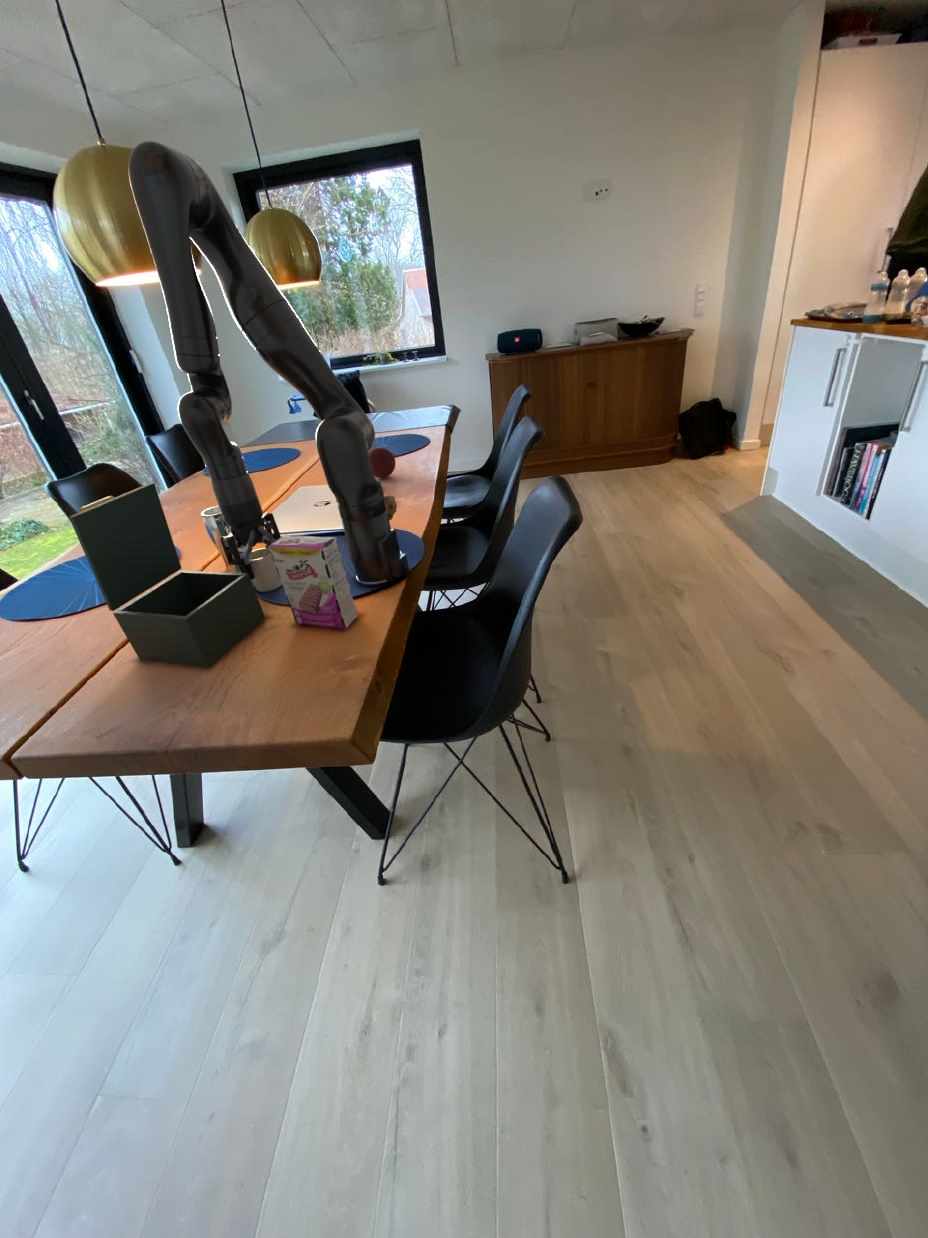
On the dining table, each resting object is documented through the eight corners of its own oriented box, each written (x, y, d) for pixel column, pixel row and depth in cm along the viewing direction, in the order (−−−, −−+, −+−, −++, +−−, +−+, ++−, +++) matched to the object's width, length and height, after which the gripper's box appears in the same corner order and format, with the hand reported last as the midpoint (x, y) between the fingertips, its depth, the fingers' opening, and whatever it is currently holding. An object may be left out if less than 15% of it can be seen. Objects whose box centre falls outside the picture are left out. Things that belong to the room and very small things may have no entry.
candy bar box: (295, 626, 96) (265, 546, 87) (309, 612, 99) (283, 534, 91) (346, 631, 92) (321, 547, 83) (359, 616, 96) (337, 535, 87)
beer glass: (260, 562, 124) (238, 503, 116) (247, 576, 118) (223, 514, 110) (234, 564, 125) (210, 505, 117) (220, 578, 119) (193, 517, 111)
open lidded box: (266, 618, 100) (248, 573, 94) (209, 668, 87) (185, 619, 82) (201, 613, 105) (181, 570, 100) (139, 659, 93) (112, 613, 87)
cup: (289, 578, 114) (278, 548, 110) (273, 592, 109) (261, 560, 105) (267, 577, 116) (256, 547, 112) (250, 591, 111) (238, 559, 107)
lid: (154, 482, 89) (129, 478, 91) (72, 517, 77) (44, 511, 78) (181, 568, 99) (158, 563, 101) (113, 611, 87) (87, 604, 88)
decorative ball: (364, 483, 170) (357, 452, 164) (374, 473, 178) (367, 444, 173) (393, 480, 168) (387, 450, 162) (401, 471, 176) (395, 441, 171)
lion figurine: (398, 524, 134) (392, 490, 129) (403, 530, 129) (396, 496, 125) (343, 538, 130) (334, 504, 126) (346, 545, 126) (337, 510, 121)
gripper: (227, 510, 95) (256, 586, 104) (274, 485, 106) (296, 555, 115) (196, 510, 97) (227, 584, 106) (245, 485, 109) (269, 554, 117)
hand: (263, 569), depth 110 cm, fingers open, 8 cm apart
